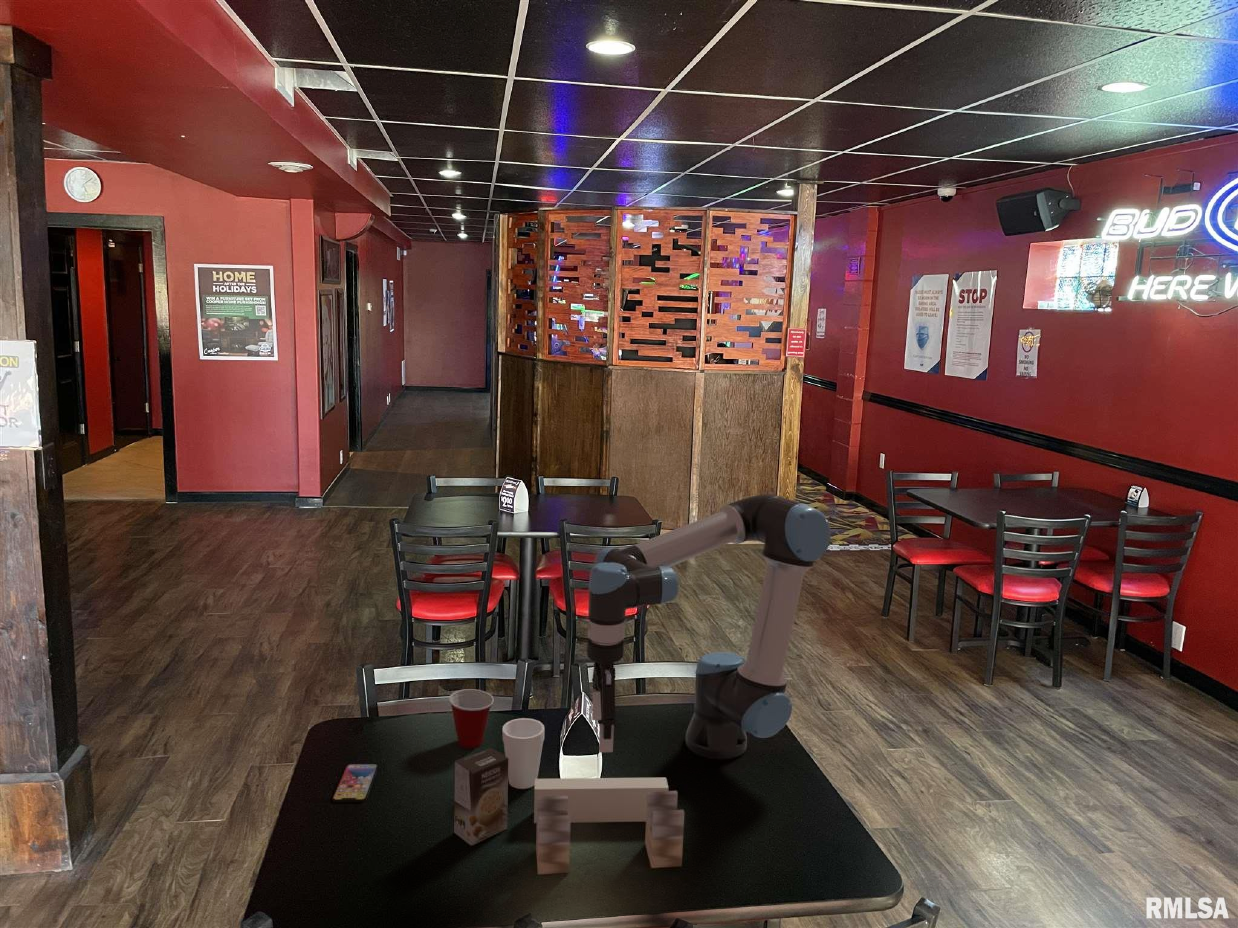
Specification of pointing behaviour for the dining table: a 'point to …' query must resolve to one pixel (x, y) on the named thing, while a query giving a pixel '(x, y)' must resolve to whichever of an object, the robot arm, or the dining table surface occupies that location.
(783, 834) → the dining table surface
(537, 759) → the foam cup
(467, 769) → the coffee box
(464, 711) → the plastic cup
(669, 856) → the brackets
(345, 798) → the smartphone
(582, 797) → the rail
